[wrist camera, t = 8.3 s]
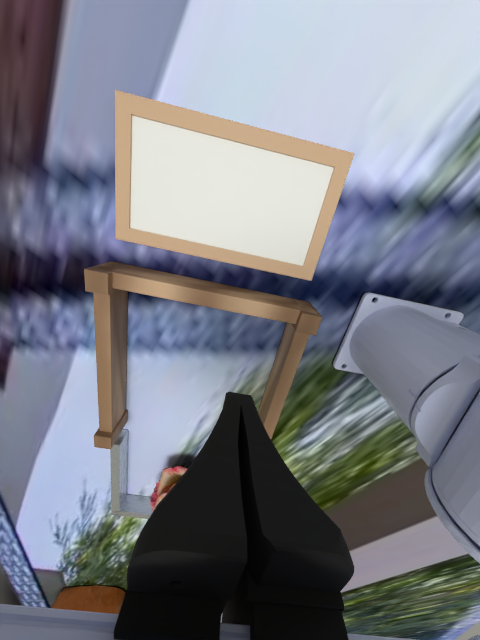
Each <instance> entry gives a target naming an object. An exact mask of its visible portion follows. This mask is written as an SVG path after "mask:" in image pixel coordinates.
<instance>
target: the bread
mask: <svg viewBox="0 0 480 640" xmlns="http://www.w3.org/2000/svg"><path fill="white" fill-rule="evenodd" d="M124 596H125V592H124V591H123V590H121V589H119V588H116V587H108V586H99V585H93V586H78V587H70V588H64V589H63V591H62V592H61V593H60V594H59V595H58V597H57V599H56V601H55V603H54V604H53V606H52V609H64V610H76V611H87V612H99V613H111V614H119V612H120V609H121V606H122V603H123V599H124Z"/></svg>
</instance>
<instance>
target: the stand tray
mask: <svg viewBox="0 0 480 640" xmlns="http://www.w3.org/2000/svg"><path fill="white" fill-rule="evenodd" d="M127 457H128V430H125V429H122V431H121V433H120V434H119V436H118V438H117V440H116V441H115V443H114V445H113V447H112V448H111V500H112V515H120V516H128V517H137V518H145V519H149V518H150V516H151V514H152V513H153V511H152V506H151V504H150V497H144V496H137V495H129V494H127Z"/></svg>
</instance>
